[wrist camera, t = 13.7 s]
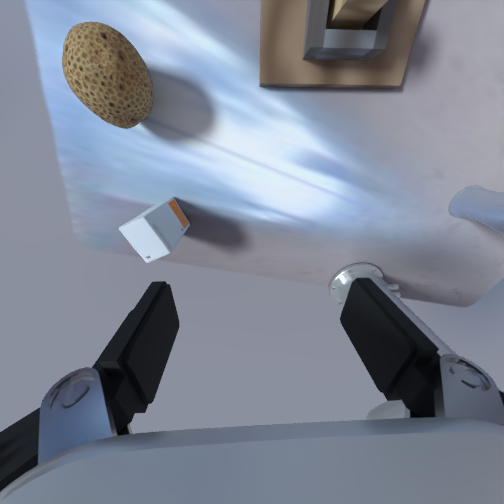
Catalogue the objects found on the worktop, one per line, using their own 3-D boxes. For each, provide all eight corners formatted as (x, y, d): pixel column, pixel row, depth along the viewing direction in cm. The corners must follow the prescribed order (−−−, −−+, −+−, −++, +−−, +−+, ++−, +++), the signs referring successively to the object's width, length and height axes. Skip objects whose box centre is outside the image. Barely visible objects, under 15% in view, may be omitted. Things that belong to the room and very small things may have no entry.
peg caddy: (437, -71, 22) (487, -126, 17) (393, 88, 28) (420, 77, 24) (262, -80, 21) (267, -141, 16) (259, 86, 28) (262, 74, 23)
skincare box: (191, 224, 37) (171, 254, 27) (172, 232, 38) (146, 264, 27) (173, 195, 34) (143, 216, 24) (153, 204, 35) (116, 228, 25)
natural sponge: (162, 139, 30) (130, 136, 21) (100, 116, 28) (38, 103, 20) (170, 67, 26) (135, 28, 17) (99, 35, 24) (20, -27, 16)
